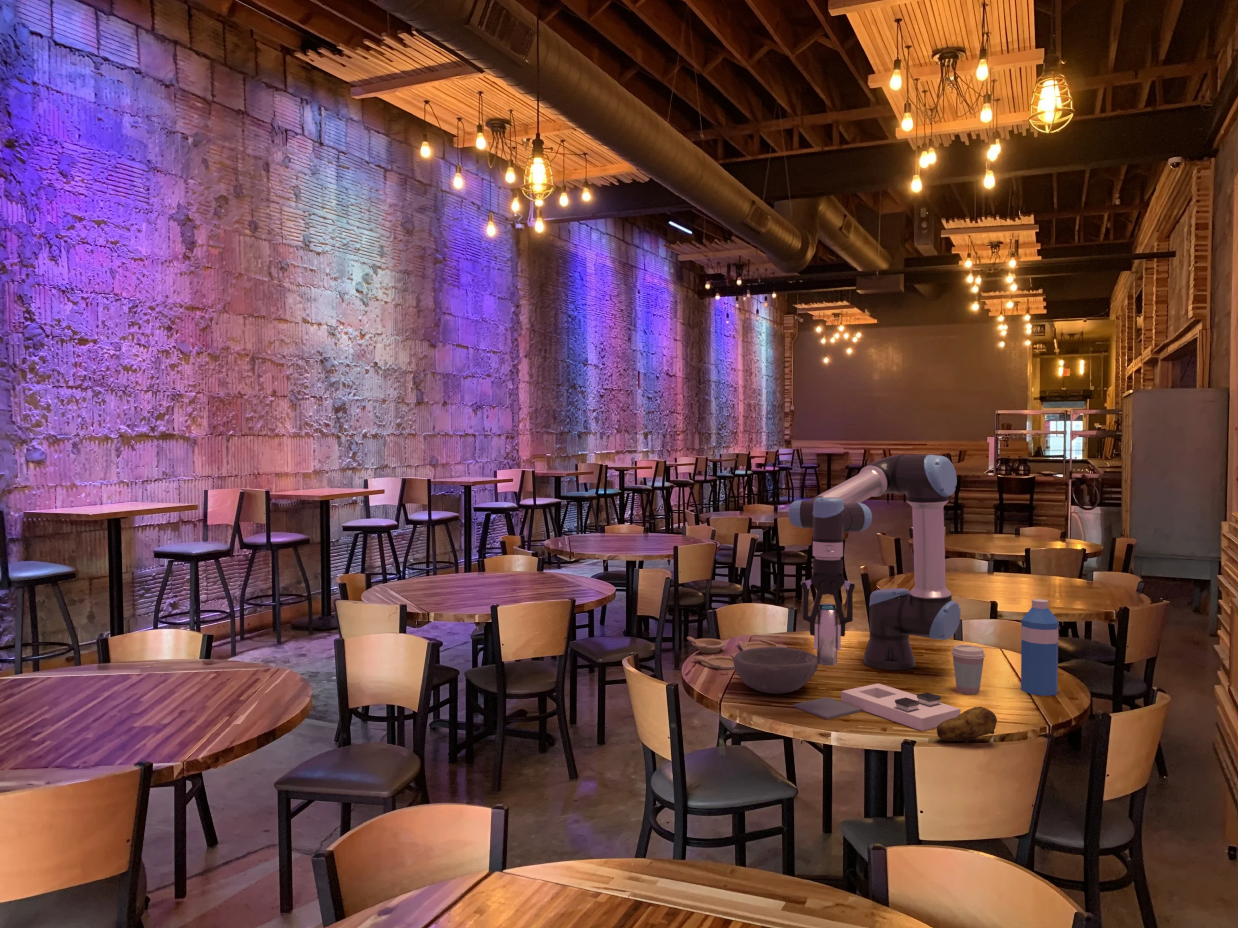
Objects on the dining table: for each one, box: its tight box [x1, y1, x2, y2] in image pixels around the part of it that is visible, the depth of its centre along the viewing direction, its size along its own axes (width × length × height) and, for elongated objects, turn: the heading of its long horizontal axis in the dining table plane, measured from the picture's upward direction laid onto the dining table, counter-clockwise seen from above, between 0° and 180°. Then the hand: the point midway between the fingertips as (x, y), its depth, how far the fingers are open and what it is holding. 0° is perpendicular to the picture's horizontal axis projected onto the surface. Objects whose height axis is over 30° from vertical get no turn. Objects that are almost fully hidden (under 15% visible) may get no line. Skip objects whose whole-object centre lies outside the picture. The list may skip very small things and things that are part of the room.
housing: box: [840, 683, 961, 732], centre depth 219 cm, size 26×14×3 cm, turn 31°
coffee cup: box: [951, 644, 986, 695], centre depth 236 cm, size 8×9×12 cm
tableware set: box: [686, 636, 789, 670], centre depth 276 cm, size 35×29×4 cm
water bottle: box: [1020, 598, 1059, 697], centre depth 236 cm, size 9×9×25 cm
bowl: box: [734, 647, 819, 695], centre depth 238 cm, size 23×22×10 cm
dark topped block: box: [916, 692, 942, 707], centre depth 216 cm, size 4×4×3 cm
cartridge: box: [816, 602, 838, 666], centre depth 221 cm, size 5×5×15 cm
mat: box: [793, 696, 862, 720], centre depth 221 cm, size 12×12×1 cm
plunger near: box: [895, 698, 919, 713], centre depth 212 cm, size 4×4×3 cm
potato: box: [936, 706, 998, 743], centre depth 197 cm, size 8×13×8 cm, turn 70°
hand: (827, 648), depth 221 cm, fingers closed on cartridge, 5 cm apart
